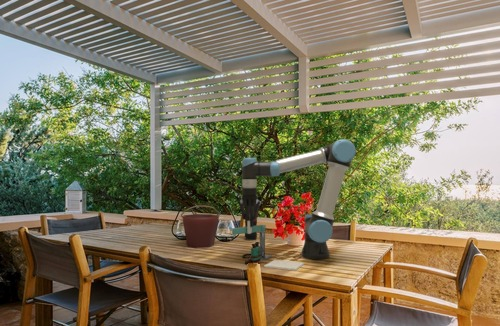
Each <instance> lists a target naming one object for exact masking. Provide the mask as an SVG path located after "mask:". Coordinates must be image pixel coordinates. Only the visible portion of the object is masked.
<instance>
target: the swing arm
mask: <svg viewBox="0 0 500 326" xmlns="http://www.w3.org/2000/svg"><path fill="white" fill-rule="evenodd" d="M266 227H267V225H266V224H257V226H253V227H252V232H257V233H260V231H264V232H266ZM245 233H247V227H246V226H241V227H233V228H232V230H231V235H235V236H237V235H243V234H244V235H245Z"/></svg>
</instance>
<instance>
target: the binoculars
mask: <svg viewBox="0 0 500 326" xmlns="http://www.w3.org/2000/svg"><path fill="white" fill-rule="evenodd" d="M251 246H252V248H250V253H246V254H245V253H244V254H243V255H241V256H242V257H241V258H242V259H245V261H244V264H251V263H250V262H253V263H258V264H262V260H261V259H260V258H261V251H260V241H254V243H251ZM246 259H248V260H246ZM253 263H252V264H253Z"/></svg>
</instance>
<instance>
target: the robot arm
mask: <svg viewBox="0 0 500 326" xmlns="http://www.w3.org/2000/svg"><path fill="white" fill-rule="evenodd" d="M356 153H357V150H356V147H355V144H354V143H353V142H352V141H350V140H349V139H343V138H342V139H338V140H337V141H334V142H332V143H330V144H328V145H325V146H322V147H320V149H317V150H311V151H308V152H305V153H304V152H303V153H301V154H296V155H292V156H288V157H284V158H279V159H276V160H275V159H274V160H272V161H258V160H257V158H256V157H244V158H243V159H242V164H241V165H242V168H241V170H242V171H241V174H242V177H241V179H242V183H241V184H242V189H241V190H242V194H241V195H242V196H241V199H240V200H238V201H237V204H238V205H239V209H240V215H241V218H242V220H244V221H245V220H246V226H245V227H247V234H250V233H252V227H253V221H254V220H255V219H257V220H258V215H259V210H260V206H261V205H262V203H263V201H260V200H259V199H258V197H257V196H258V189H257V187H258V184H257V183H258V182H257V181H258V180H257V179H258V177H279V176H280V174H282V173H286V172H290V171H295V170H299V169H304V168H306V167H312V166H317V165H321V164H324V165H328V169H327V173H326V176H325V179H324V183H323V186H322V190H321V193H320V197H319V200H318V204H317V206H316V210H315V211H312V214H305V216H304V243H303V247H302V250H301V257H303V258H305V259H311V260H325V259H329V258H330V251H329V248H328V244H327V242H328V241H329V240H331V237H332V236H333V231H334V229H333V225H334V222H335V217H334V215H333V214H334V211H335V207H336V204H337V201H338V198H339V194H340V190H341V187H342V184H343V180H344V178H345V174H346V171H347V170H349V169H350V167H351V164H352V161H353V160H354V158H355V157H356ZM254 204H255V205H256V207H255V212H254ZM249 207H250V215H249Z"/></svg>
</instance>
